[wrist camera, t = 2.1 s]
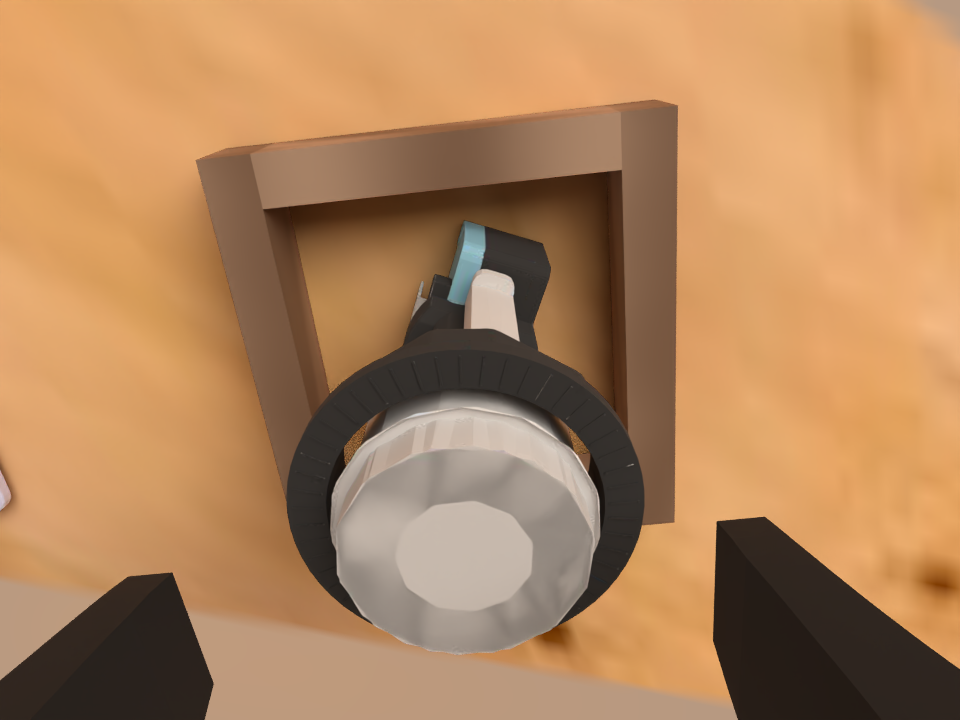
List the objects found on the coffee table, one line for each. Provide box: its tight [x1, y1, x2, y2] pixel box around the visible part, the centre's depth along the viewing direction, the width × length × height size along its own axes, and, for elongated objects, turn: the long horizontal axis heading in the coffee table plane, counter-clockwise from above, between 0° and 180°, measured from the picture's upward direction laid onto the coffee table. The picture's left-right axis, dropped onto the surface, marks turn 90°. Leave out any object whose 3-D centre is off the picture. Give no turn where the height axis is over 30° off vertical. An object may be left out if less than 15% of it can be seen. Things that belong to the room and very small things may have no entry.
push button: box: [286, 220, 645, 655], centre depth 14 cm, size 7×5×10 cm
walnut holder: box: [196, 100, 678, 525], centre depth 18 cm, size 10×11×2 cm
